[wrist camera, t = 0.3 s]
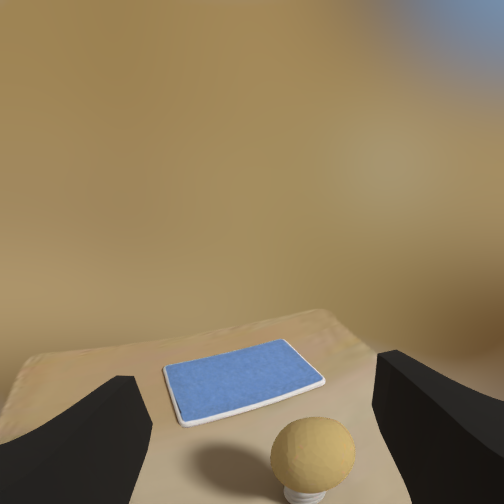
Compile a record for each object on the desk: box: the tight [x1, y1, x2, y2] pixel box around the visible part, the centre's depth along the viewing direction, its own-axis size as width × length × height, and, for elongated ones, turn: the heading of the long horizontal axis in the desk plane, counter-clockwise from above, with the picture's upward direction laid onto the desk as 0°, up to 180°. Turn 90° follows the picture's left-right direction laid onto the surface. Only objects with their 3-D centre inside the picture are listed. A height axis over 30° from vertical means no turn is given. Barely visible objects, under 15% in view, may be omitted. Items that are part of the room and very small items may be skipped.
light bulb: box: [270, 417, 355, 504], centre depth 19 cm, size 6×6×10 cm
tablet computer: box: [163, 339, 325, 428], centre depth 38 cm, size 19×13×1 cm, turn 113°
